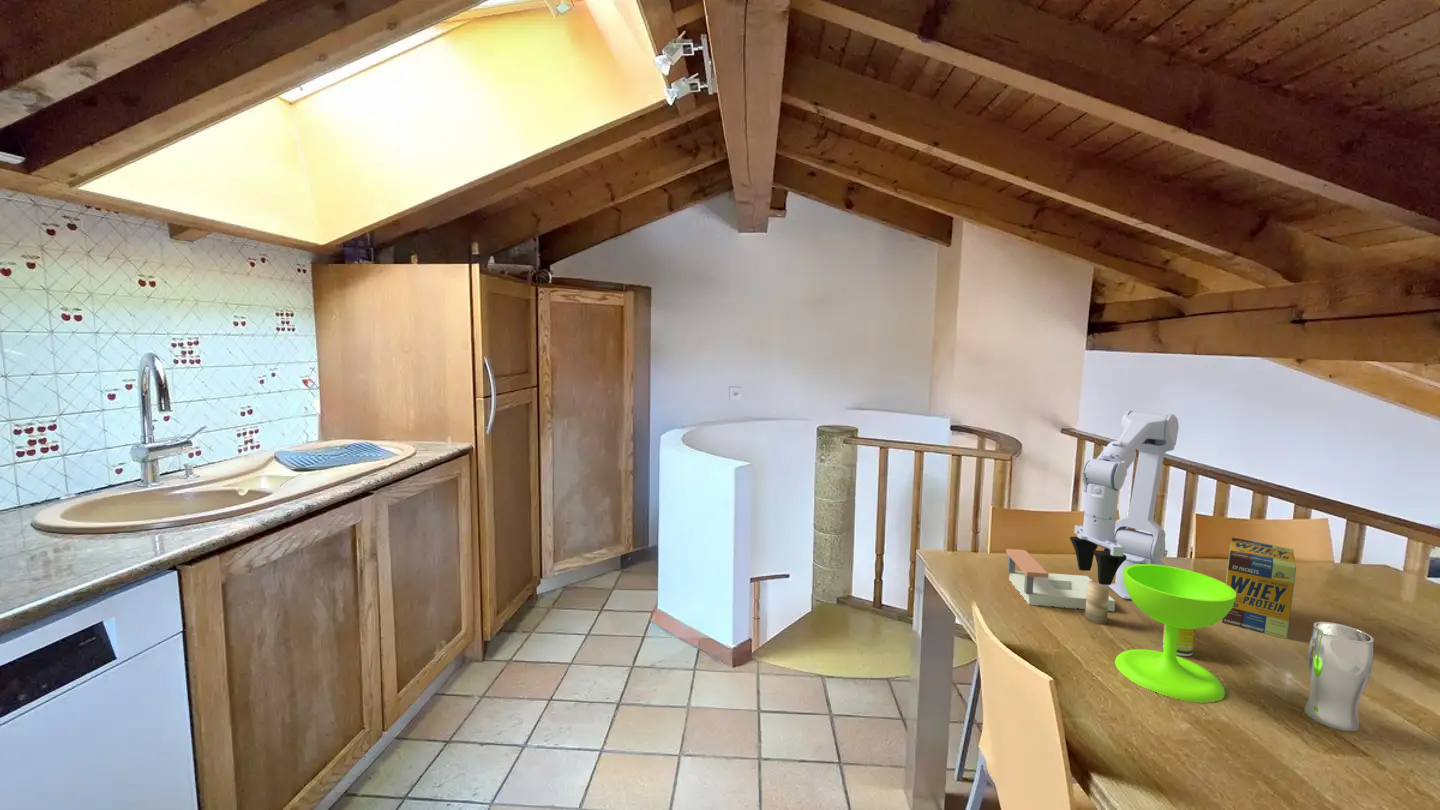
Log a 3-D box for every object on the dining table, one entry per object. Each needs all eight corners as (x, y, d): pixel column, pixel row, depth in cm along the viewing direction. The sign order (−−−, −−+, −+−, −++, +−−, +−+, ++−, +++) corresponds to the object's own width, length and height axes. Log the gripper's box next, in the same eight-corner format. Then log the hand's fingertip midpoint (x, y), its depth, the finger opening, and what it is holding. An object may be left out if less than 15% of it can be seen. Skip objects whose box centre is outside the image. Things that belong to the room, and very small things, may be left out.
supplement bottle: (1198, 658, 112) (1202, 616, 111) (1170, 655, 112) (1174, 614, 112) (1183, 645, 116) (1187, 605, 115) (1157, 643, 117) (1160, 603, 116)
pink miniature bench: (1023, 570, 147) (1025, 550, 146) (1046, 596, 132) (1048, 573, 132) (1005, 569, 148) (1006, 548, 147) (1025, 595, 133) (1027, 572, 132)
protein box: (1220, 623, 126) (1228, 554, 124) (1224, 600, 137) (1231, 536, 135) (1288, 640, 119) (1297, 567, 117) (1285, 614, 130) (1294, 547, 128)
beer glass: (1288, 706, 97) (1299, 621, 95) (1326, 704, 97) (1337, 620, 96) (1335, 735, 90) (1348, 643, 88) (1376, 732, 91) (1389, 642, 89)
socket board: (1086, 585, 144) (1087, 575, 144) (1114, 611, 131) (1115, 600, 130) (1009, 580, 147) (1009, 570, 147) (1028, 604, 134) (1029, 594, 133)
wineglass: (1234, 714, 95) (1246, 610, 93) (1116, 683, 103) (1125, 586, 101) (1215, 668, 108) (1226, 575, 106) (1112, 643, 117) (1120, 558, 115)
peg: (1101, 616, 128) (1104, 581, 127) (1110, 624, 124) (1113, 589, 124) (1081, 614, 129) (1084, 580, 128) (1089, 623, 125) (1092, 587, 124)
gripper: (1062, 505, 131) (1057, 563, 133) (1100, 525, 117) (1094, 589, 118) (1095, 506, 131) (1089, 564, 132) (1136, 526, 116) (1130, 591, 118)
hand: (1094, 576), depth 125 cm, fingers open, 7 cm apart
